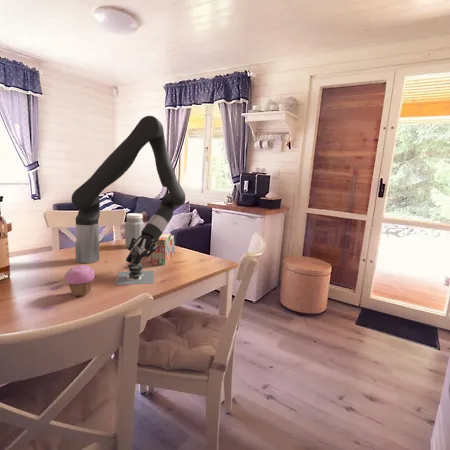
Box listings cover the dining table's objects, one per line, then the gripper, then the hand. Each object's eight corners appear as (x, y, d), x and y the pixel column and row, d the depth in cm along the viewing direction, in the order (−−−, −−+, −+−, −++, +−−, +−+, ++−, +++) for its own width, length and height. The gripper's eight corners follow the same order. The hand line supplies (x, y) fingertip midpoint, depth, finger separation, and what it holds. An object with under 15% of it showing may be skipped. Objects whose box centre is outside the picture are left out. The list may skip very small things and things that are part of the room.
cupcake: (98, 288, 103) (97, 262, 101) (91, 299, 95) (90, 270, 93) (71, 289, 101) (69, 262, 100) (61, 300, 93) (60, 270, 91)
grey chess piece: (145, 273, 117) (146, 244, 115) (137, 278, 112) (137, 248, 110) (133, 270, 119) (133, 242, 117) (124, 275, 114) (124, 246, 111)
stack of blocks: (162, 251, 153) (162, 229, 151) (174, 252, 153) (174, 229, 151) (151, 264, 132) (151, 238, 130) (165, 265, 132) (165, 239, 130)
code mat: (114, 285, 107) (114, 284, 107) (118, 272, 120) (118, 271, 120) (153, 283, 111) (153, 283, 110) (153, 271, 124) (153, 270, 124)
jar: (122, 247, 156) (121, 214, 153) (130, 243, 166) (130, 212, 163) (138, 249, 155) (138, 216, 152) (146, 245, 164) (146, 213, 161)
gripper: (138, 220, 122) (113, 254, 114) (162, 225, 114) (138, 261, 106) (147, 230, 127) (125, 263, 119) (171, 236, 119) (149, 271, 112)
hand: (131, 262), depth 113 cm, fingers closed on grey chess piece, 3 cm apart
